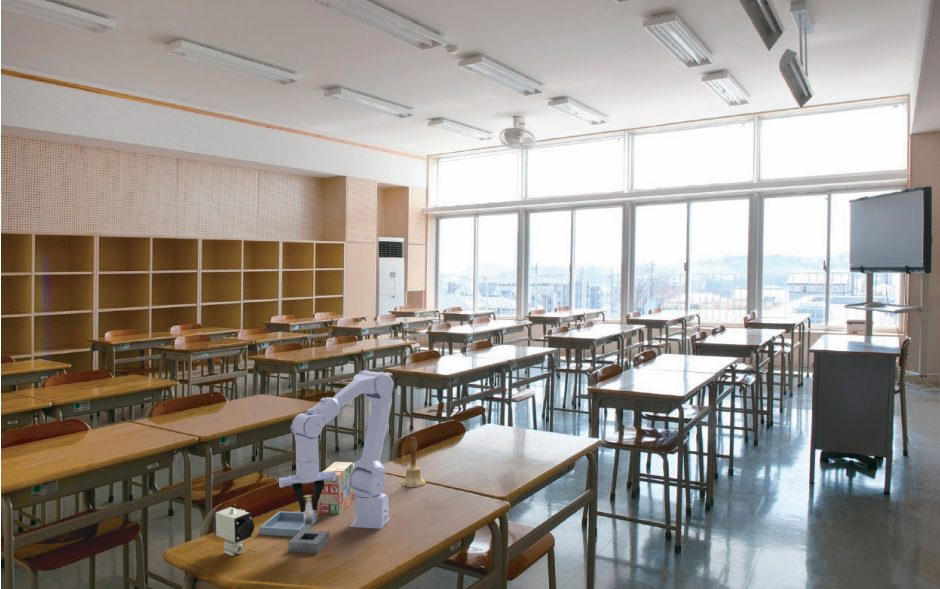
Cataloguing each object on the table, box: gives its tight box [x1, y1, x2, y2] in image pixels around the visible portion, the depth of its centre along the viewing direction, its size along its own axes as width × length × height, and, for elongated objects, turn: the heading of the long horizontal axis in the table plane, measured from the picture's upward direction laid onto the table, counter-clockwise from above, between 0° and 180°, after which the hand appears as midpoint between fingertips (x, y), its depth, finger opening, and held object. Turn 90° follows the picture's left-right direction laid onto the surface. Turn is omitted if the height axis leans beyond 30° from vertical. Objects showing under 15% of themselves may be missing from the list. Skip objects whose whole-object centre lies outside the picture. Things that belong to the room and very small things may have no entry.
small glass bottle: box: [302, 494, 315, 525], centre depth 173 cm, size 3×3×7 cm
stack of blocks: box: [319, 461, 356, 515], centre depth 208 cm, size 21×6×12 cm, turn 169°
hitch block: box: [287, 529, 330, 554], centre depth 174 cm, size 8×8×3 cm
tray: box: [258, 510, 319, 538], centre depth 186 cm, size 12×12×2 cm
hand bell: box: [401, 436, 426, 488], centre depth 224 cm, size 8×8×16 cm
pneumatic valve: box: [211, 506, 255, 556], centre depth 171 cm, size 6×12×12 cm, turn 57°
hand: (308, 510), depth 173 cm, fingers closed on small glass bottle, 3 cm apart
